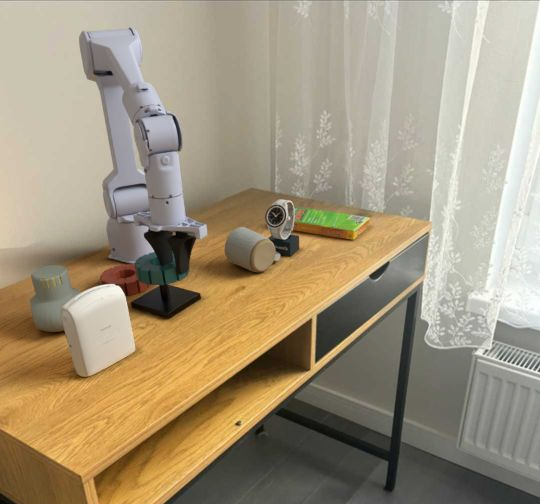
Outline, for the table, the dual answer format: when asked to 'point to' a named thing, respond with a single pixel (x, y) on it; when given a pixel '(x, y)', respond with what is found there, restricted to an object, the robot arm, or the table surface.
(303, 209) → the game box
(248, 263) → the ceramic mug
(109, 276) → the brick ring
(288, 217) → the watch
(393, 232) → the table surface
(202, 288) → the table surface
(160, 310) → the peg stand
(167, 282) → the teal ring
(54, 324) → the air freshener
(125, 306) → the photo printer
